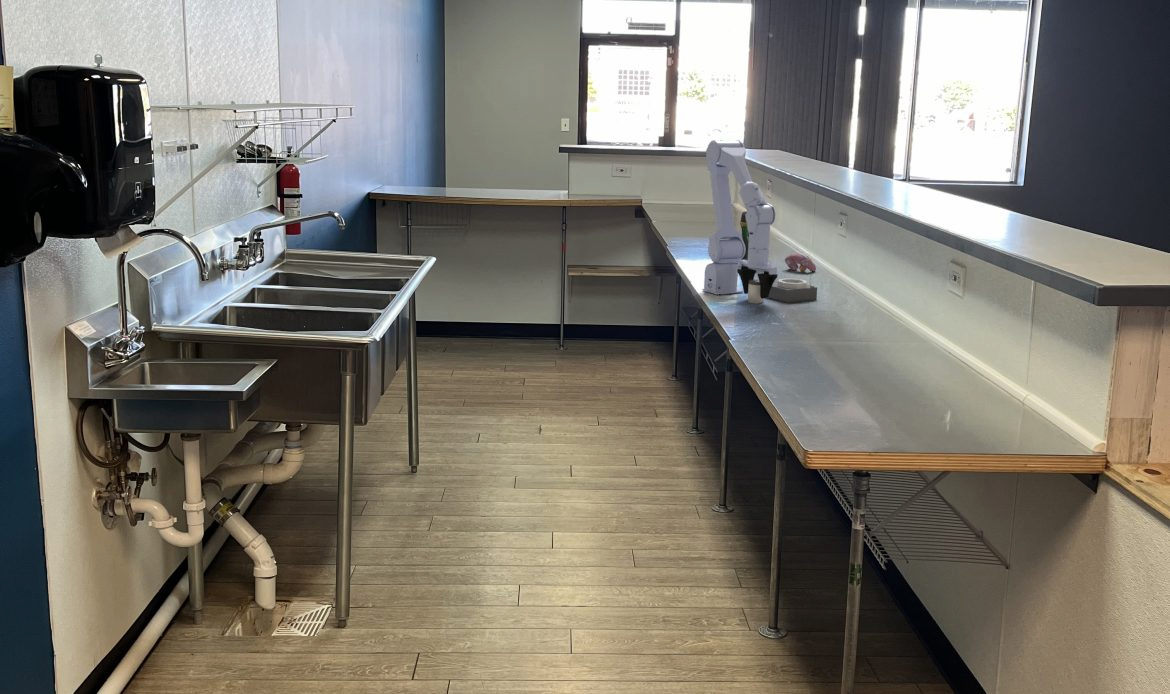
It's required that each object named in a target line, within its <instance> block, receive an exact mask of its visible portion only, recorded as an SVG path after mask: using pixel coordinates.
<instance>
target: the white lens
mask: <svg viewBox="0 0 1170 694" xmlns="http://www.w3.org/2000/svg"><path fill="white" fill-rule="evenodd" d="M764 299H765V298H764ZM764 299H762V298H761V297H760V282H759V279H753V280H749V286H748V294H747V302H748V303H749V302H751V303H750V304H764Z"/></svg>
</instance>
